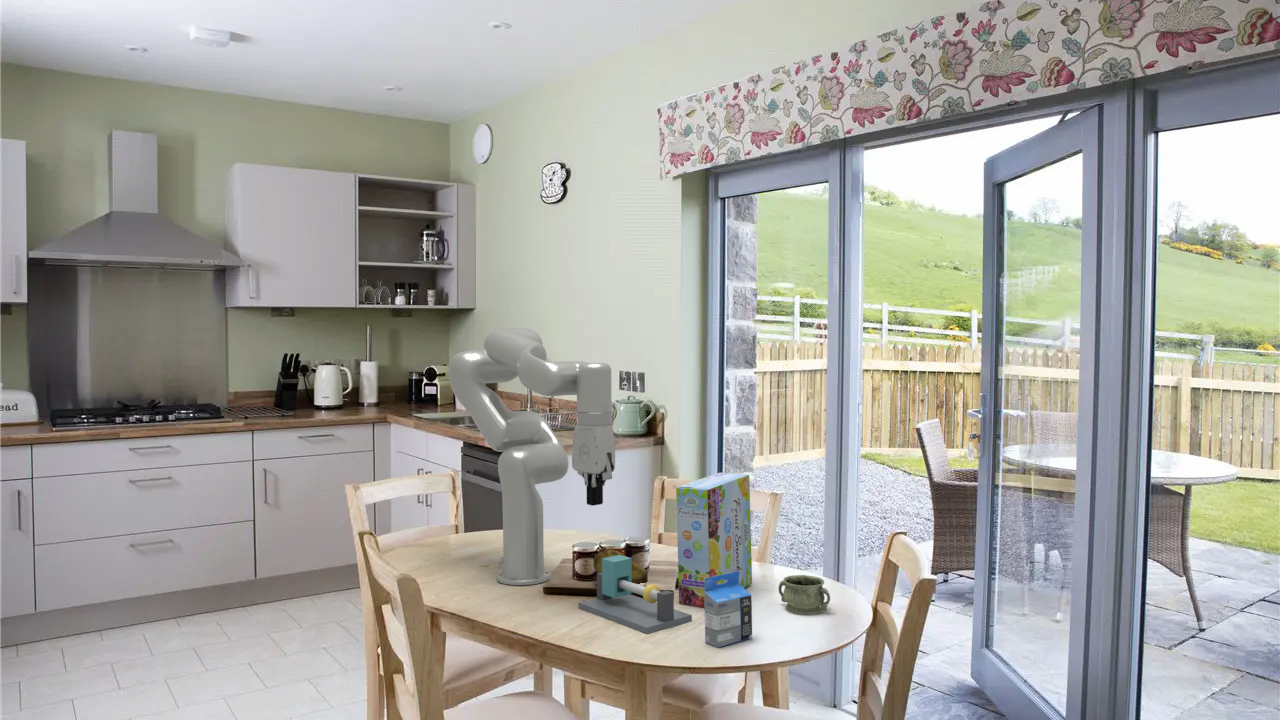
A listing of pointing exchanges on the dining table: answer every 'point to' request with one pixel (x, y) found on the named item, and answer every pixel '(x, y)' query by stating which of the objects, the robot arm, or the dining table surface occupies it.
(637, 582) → the potato
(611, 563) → the teal sliding cube
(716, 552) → the snack box
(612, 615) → the slider rail stand
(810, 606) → the vessel
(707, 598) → the label tape box
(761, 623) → the dining table surface
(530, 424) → the robot arm
